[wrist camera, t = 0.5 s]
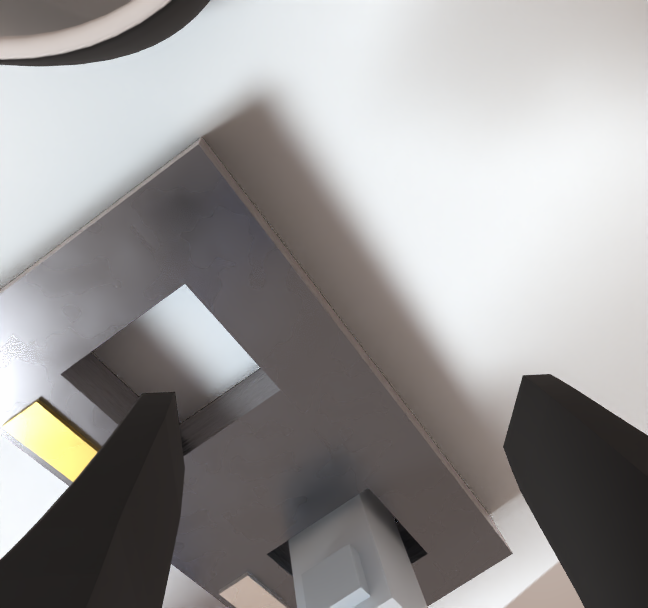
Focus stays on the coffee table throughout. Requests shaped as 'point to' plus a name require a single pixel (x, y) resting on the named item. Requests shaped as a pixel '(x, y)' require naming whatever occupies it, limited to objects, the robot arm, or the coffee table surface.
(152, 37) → the mug
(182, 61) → the coffee table surface
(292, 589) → the panel
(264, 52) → the coffee table surface
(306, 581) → the plug
